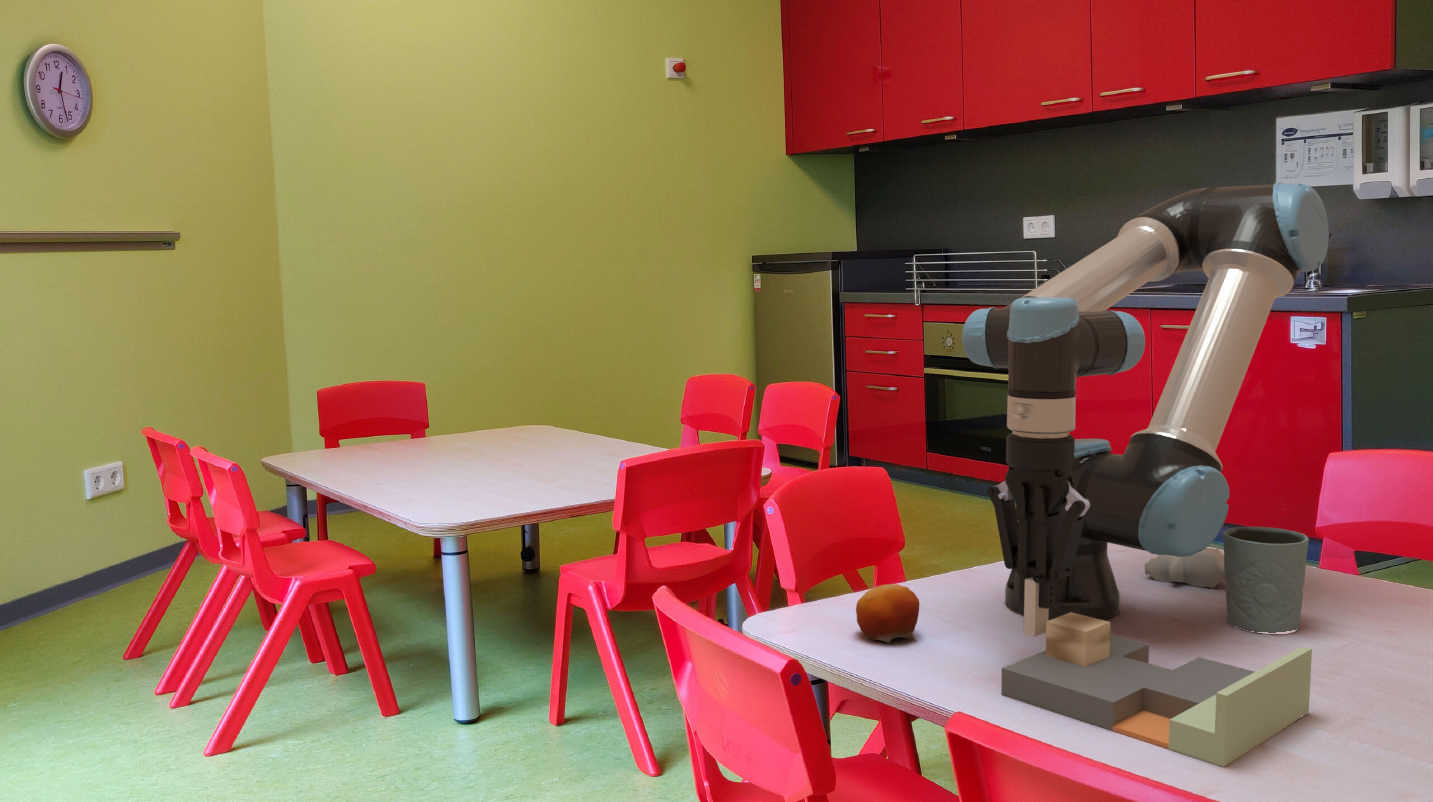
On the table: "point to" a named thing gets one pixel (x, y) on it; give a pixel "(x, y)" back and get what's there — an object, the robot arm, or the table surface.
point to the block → (1077, 639)
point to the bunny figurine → (1189, 568)
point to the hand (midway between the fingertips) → (1035, 632)
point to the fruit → (888, 612)
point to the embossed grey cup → (1264, 577)
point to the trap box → (1170, 697)
